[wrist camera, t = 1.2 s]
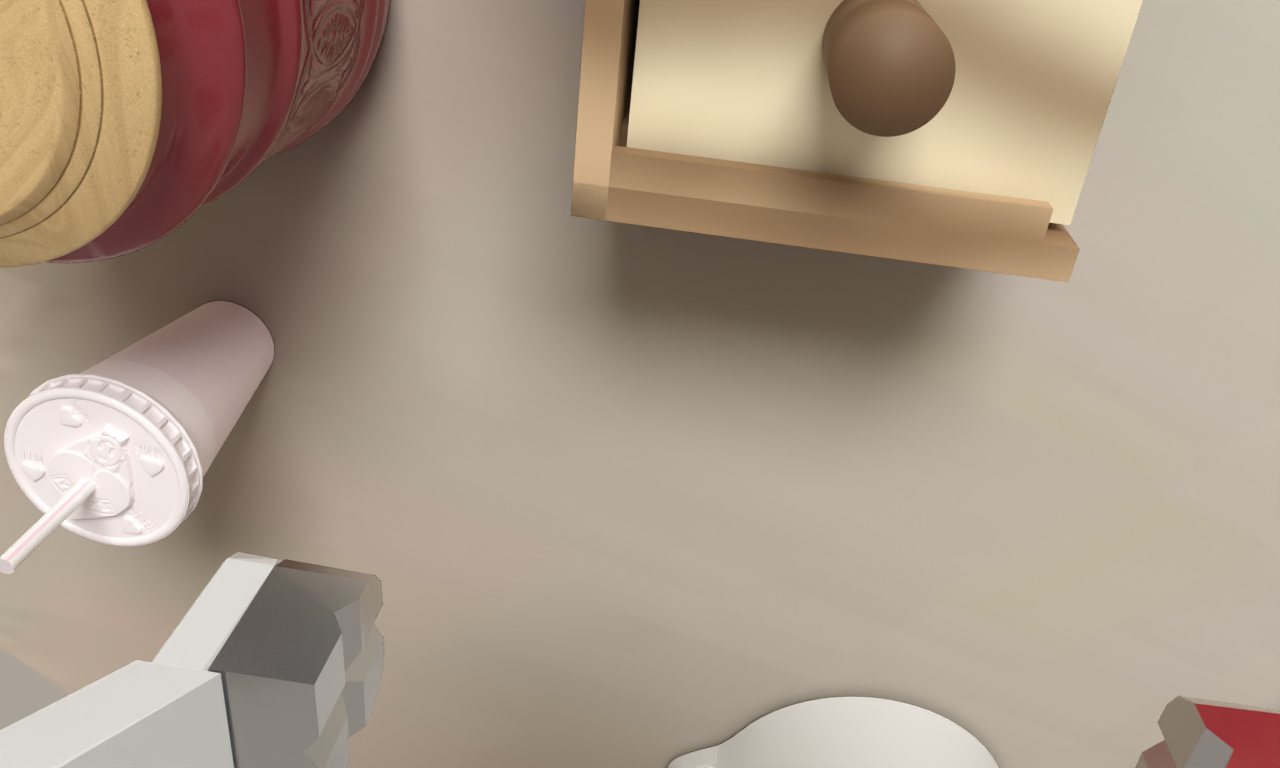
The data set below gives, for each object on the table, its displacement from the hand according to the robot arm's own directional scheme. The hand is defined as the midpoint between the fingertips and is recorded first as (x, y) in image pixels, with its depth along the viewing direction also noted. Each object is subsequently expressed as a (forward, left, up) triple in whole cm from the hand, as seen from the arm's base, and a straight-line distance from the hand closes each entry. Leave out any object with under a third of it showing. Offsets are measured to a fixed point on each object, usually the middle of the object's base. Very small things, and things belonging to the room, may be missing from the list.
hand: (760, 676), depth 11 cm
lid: (+3, -2, -22) cm, 22 cm away
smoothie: (-13, +20, -28) cm, 37 cm away
